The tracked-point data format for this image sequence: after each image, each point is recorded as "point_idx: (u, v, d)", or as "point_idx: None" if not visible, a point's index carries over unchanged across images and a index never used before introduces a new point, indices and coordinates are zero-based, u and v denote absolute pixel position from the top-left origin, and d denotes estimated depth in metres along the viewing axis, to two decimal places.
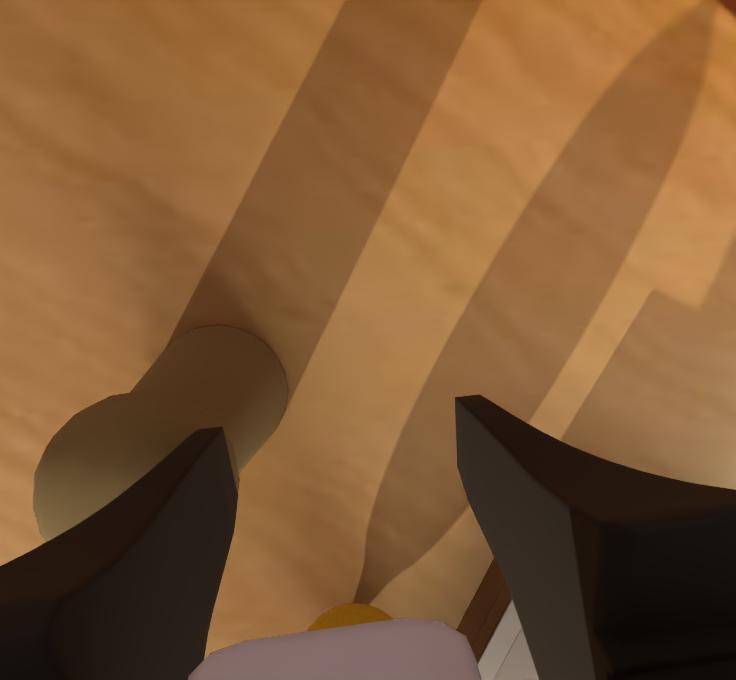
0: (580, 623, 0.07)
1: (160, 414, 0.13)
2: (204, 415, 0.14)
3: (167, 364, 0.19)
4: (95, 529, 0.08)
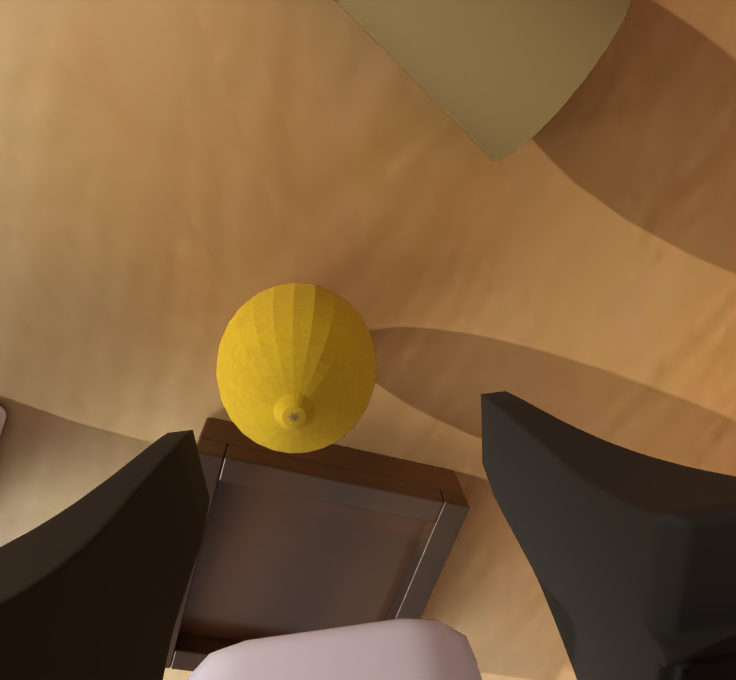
0: (628, 616, 0.07)
1: None
2: None
3: None
4: (48, 535, 0.08)
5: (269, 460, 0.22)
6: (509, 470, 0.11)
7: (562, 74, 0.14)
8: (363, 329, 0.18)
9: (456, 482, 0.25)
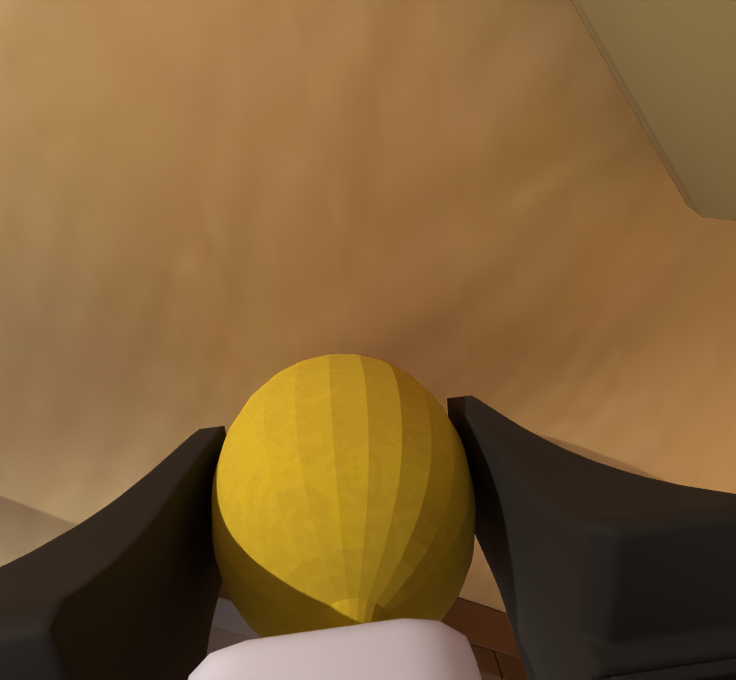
0: (566, 625, 0.07)
1: None
2: None
3: None
4: (98, 528, 0.08)
5: None
6: (471, 475, 0.11)
7: None
8: (466, 458, 0.11)
9: (512, 636, 0.18)
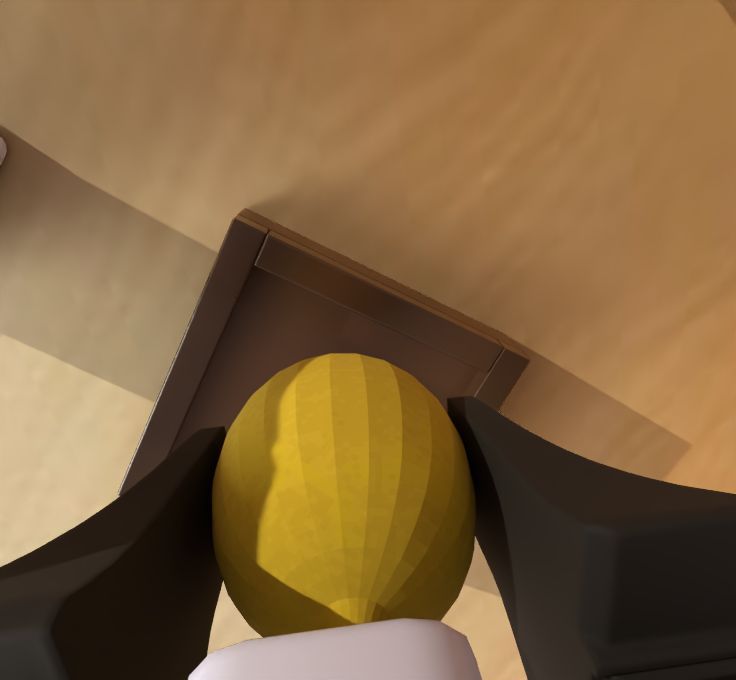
0: (566, 625, 0.07)
1: None
2: None
3: None
4: (98, 528, 0.08)
5: (316, 255, 0.18)
6: None
7: None
8: (466, 458, 0.11)
9: (511, 342, 0.22)
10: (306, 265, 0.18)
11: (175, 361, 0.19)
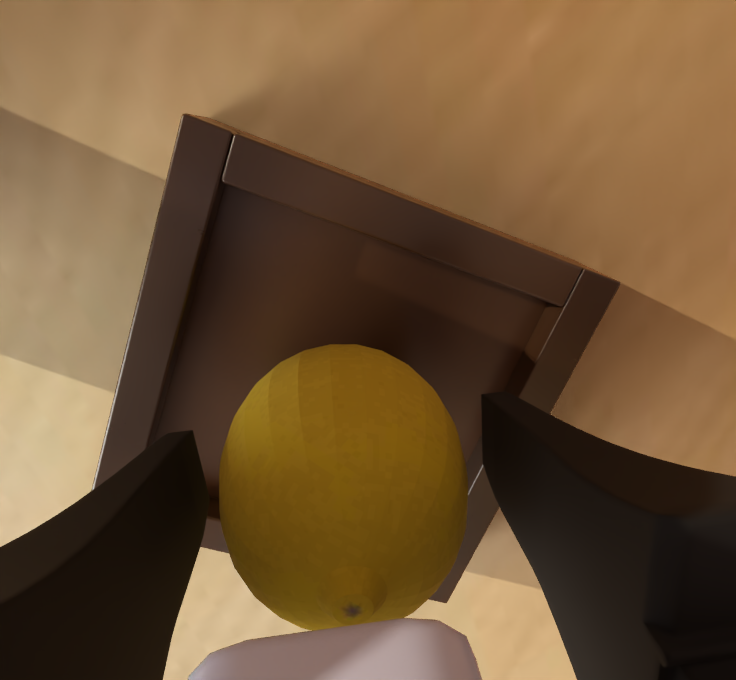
0: (627, 616, 0.07)
1: None
2: None
3: None
4: (48, 535, 0.08)
5: (307, 160, 0.13)
6: (509, 470, 0.11)
7: None
8: (459, 441, 0.11)
9: (586, 266, 0.16)
10: (295, 174, 0.13)
11: (132, 332, 0.14)
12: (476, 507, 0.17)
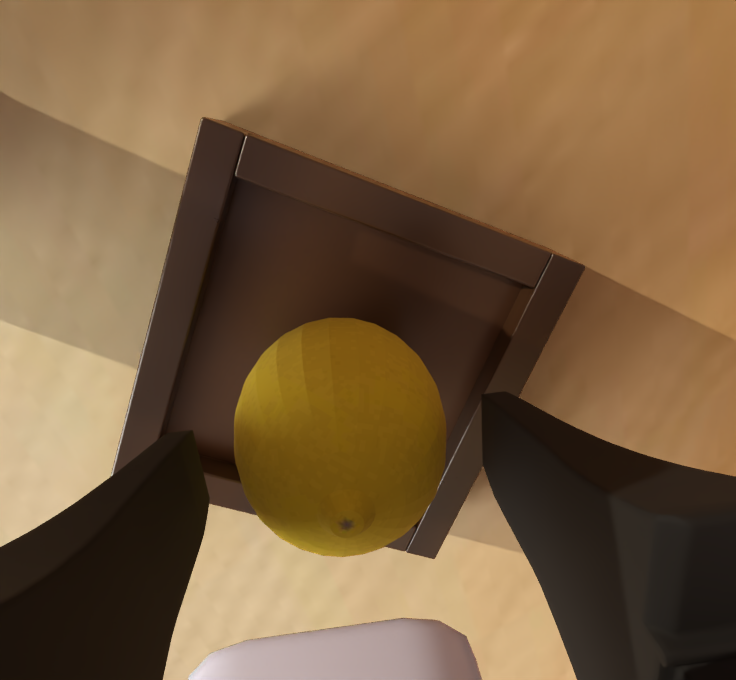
0: (627, 616, 0.07)
1: None
2: None
3: None
4: (48, 535, 0.08)
5: (309, 157, 0.15)
6: (509, 470, 0.11)
7: None
8: (439, 398, 0.13)
9: (558, 253, 0.18)
10: (298, 169, 0.15)
11: (155, 309, 0.16)
12: (460, 469, 0.19)
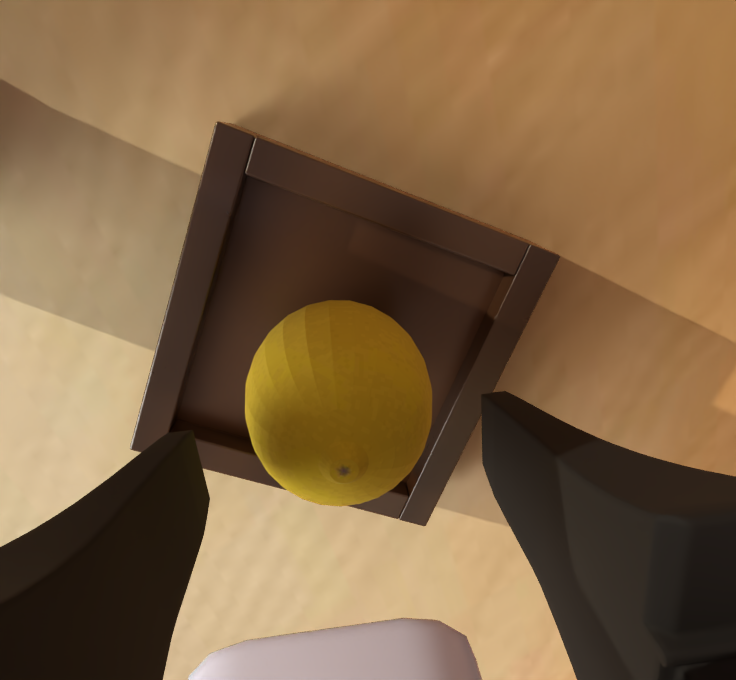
0: (627, 616, 0.07)
1: None
2: None
3: None
4: (48, 535, 0.08)
5: (312, 157, 0.17)
6: (509, 470, 0.11)
7: None
8: (426, 369, 0.15)
9: None
10: (302, 168, 0.16)
11: (173, 293, 0.17)
12: (448, 442, 0.20)
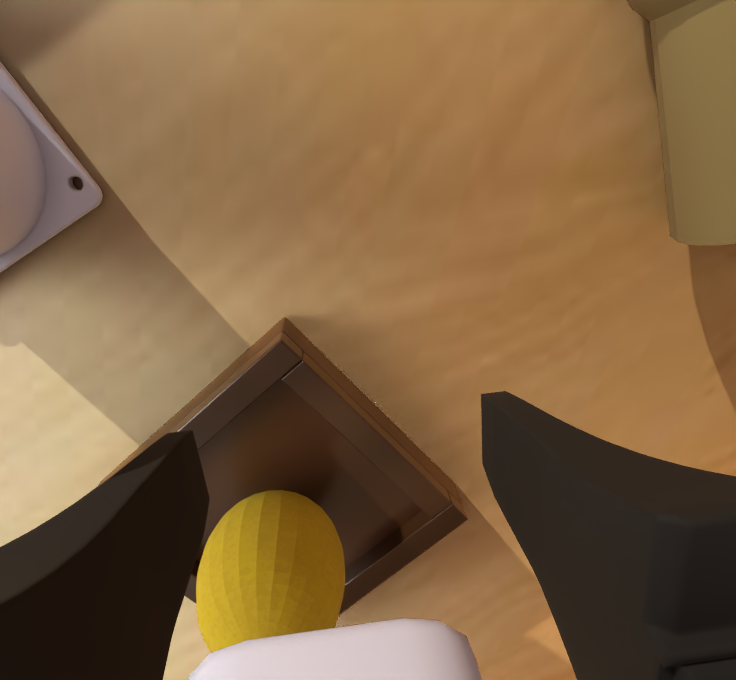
0: (627, 616, 0.07)
1: None
2: None
3: None
4: (49, 535, 0.08)
5: (333, 386, 0.21)
6: (509, 470, 0.11)
7: None
8: (344, 588, 0.20)
9: (456, 492, 0.25)
10: (323, 393, 0.21)
11: (180, 430, 0.21)
12: None
